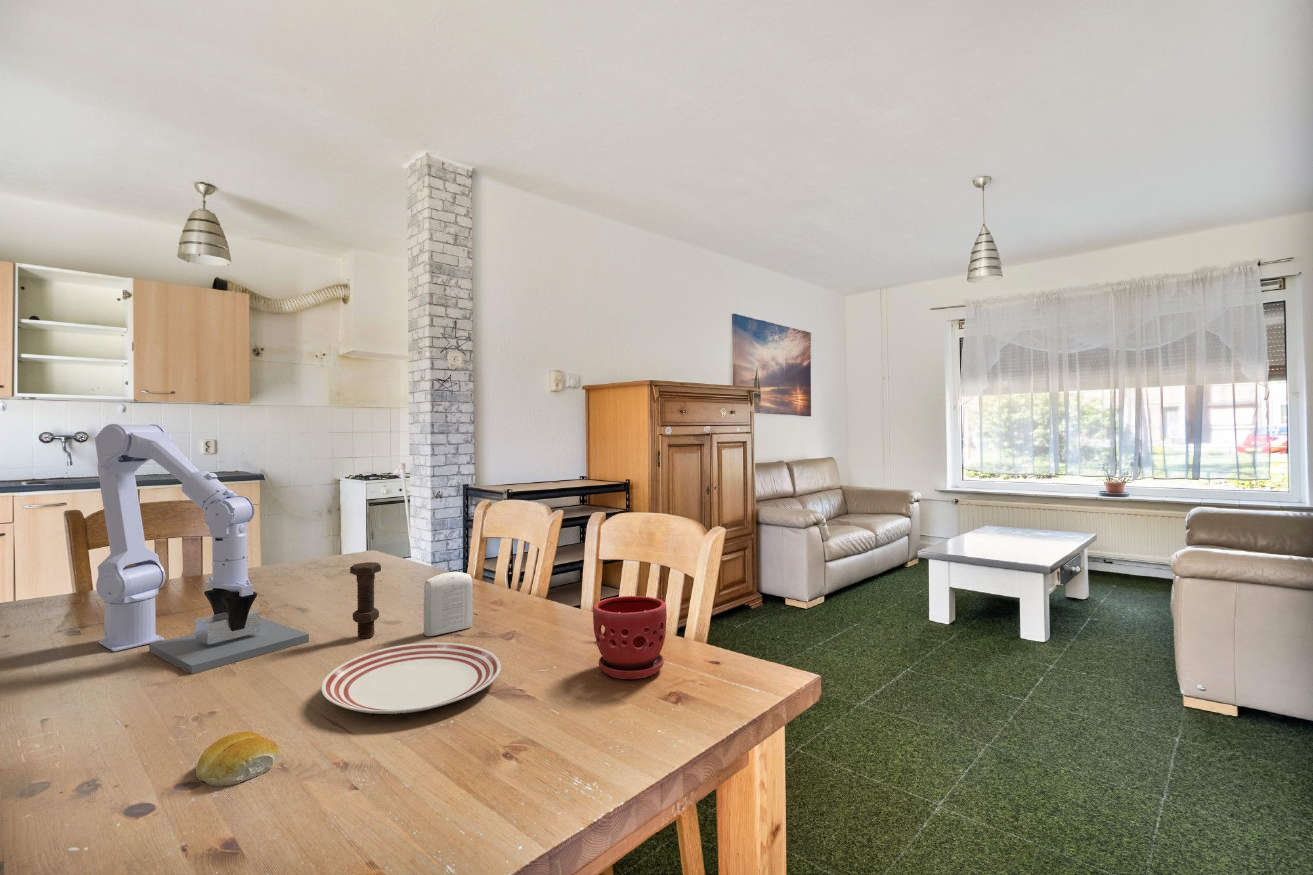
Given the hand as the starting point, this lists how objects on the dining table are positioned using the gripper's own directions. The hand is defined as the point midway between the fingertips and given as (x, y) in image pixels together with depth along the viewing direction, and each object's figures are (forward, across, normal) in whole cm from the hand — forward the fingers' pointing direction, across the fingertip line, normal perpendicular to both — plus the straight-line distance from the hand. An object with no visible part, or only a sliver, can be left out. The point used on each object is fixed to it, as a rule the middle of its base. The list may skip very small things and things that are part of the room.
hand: (230, 626), depth 121 cm
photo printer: (+4, +28, +30) cm, 41 cm away
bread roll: (+4, +50, -19) cm, 54 cm away
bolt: (+4, +17, +18) cm, 25 cm away
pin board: (+4, 0, 0) cm, 4 cm away
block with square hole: (+2, 0, 0) cm, 2 cm away
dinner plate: (+4, +48, +8) cm, 49 cm away
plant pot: (+4, +73, +34) cm, 81 cm away
